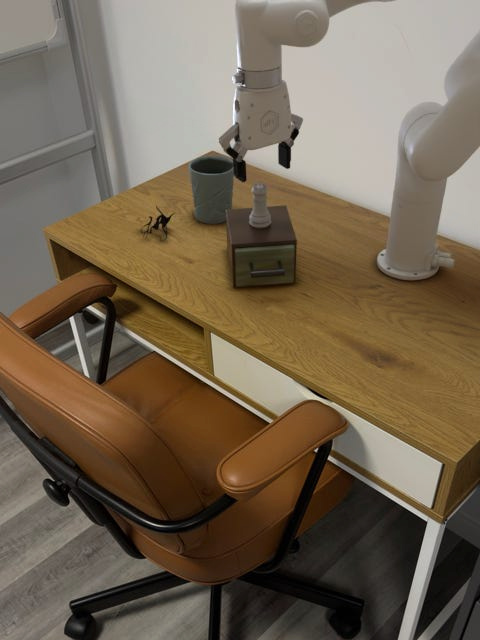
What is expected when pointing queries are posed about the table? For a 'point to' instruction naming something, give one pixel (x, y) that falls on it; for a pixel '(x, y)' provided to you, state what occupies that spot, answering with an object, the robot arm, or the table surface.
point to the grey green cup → (211, 188)
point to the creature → (163, 221)
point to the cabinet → (258, 233)
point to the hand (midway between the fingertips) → (262, 172)
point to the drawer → (264, 265)
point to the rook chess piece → (259, 207)
